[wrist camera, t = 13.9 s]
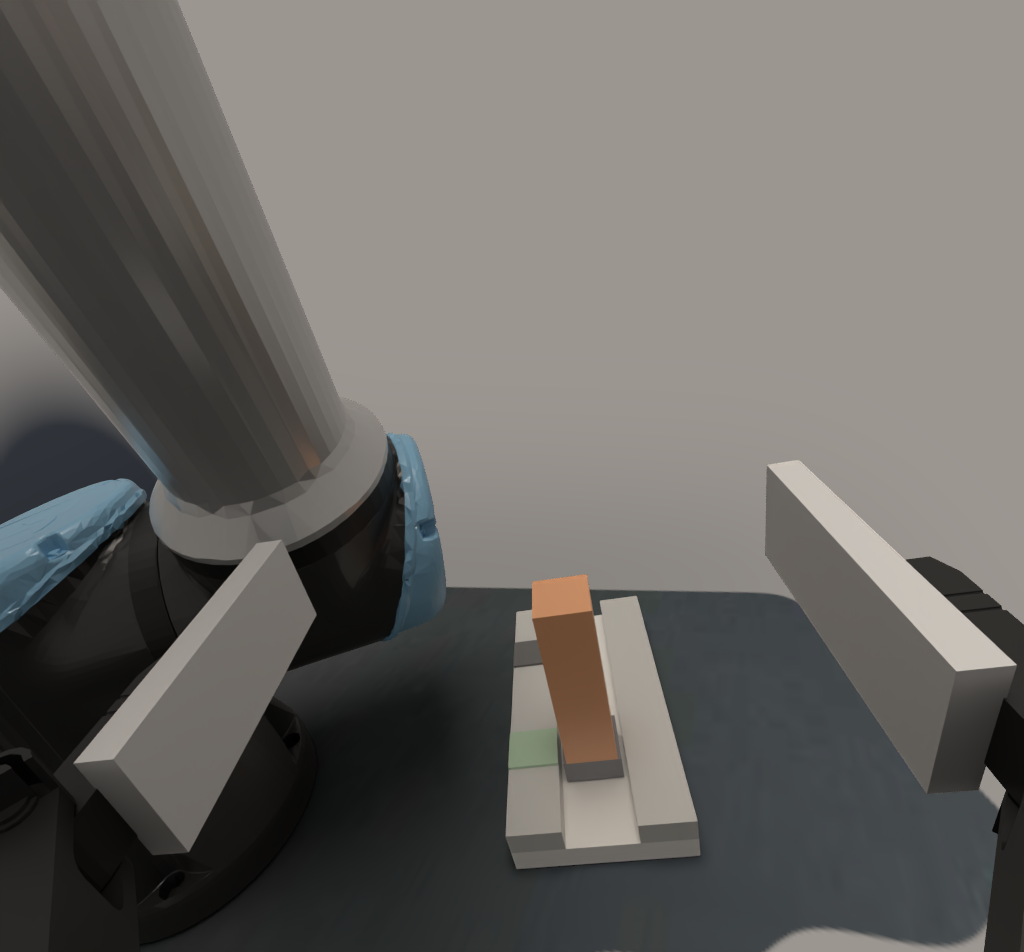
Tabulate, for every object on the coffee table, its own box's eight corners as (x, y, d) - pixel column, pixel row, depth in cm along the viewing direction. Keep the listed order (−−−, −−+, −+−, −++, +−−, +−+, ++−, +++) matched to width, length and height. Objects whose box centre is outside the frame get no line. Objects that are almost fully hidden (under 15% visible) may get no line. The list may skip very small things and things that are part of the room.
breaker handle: (624, 776, 31) (596, 610, 26) (567, 782, 31) (528, 619, 26) (617, 732, 34) (590, 573, 29) (564, 737, 34) (528, 582, 29)
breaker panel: (700, 855, 28) (697, 818, 27) (516, 868, 29) (504, 834, 28) (640, 624, 44) (636, 594, 43) (523, 639, 45) (516, 610, 44)
